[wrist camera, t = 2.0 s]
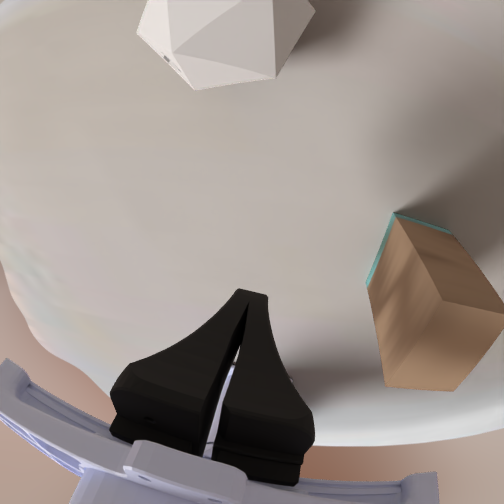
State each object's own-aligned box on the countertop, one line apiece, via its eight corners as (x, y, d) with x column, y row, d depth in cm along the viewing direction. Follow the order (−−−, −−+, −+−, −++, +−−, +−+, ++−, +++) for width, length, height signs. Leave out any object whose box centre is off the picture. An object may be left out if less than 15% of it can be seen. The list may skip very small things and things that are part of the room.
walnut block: (418, 294, 22) (453, 391, 13) (365, 282, 22) (385, 386, 14) (448, 230, 19) (511, 316, 10) (392, 212, 19) (442, 300, 11)
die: (180, -12, 14) (80, 48, 11) (269, -81, 8) (166, -74, 5) (250, 62, 19) (181, 143, 16) (350, 16, 13) (313, 85, 9)
